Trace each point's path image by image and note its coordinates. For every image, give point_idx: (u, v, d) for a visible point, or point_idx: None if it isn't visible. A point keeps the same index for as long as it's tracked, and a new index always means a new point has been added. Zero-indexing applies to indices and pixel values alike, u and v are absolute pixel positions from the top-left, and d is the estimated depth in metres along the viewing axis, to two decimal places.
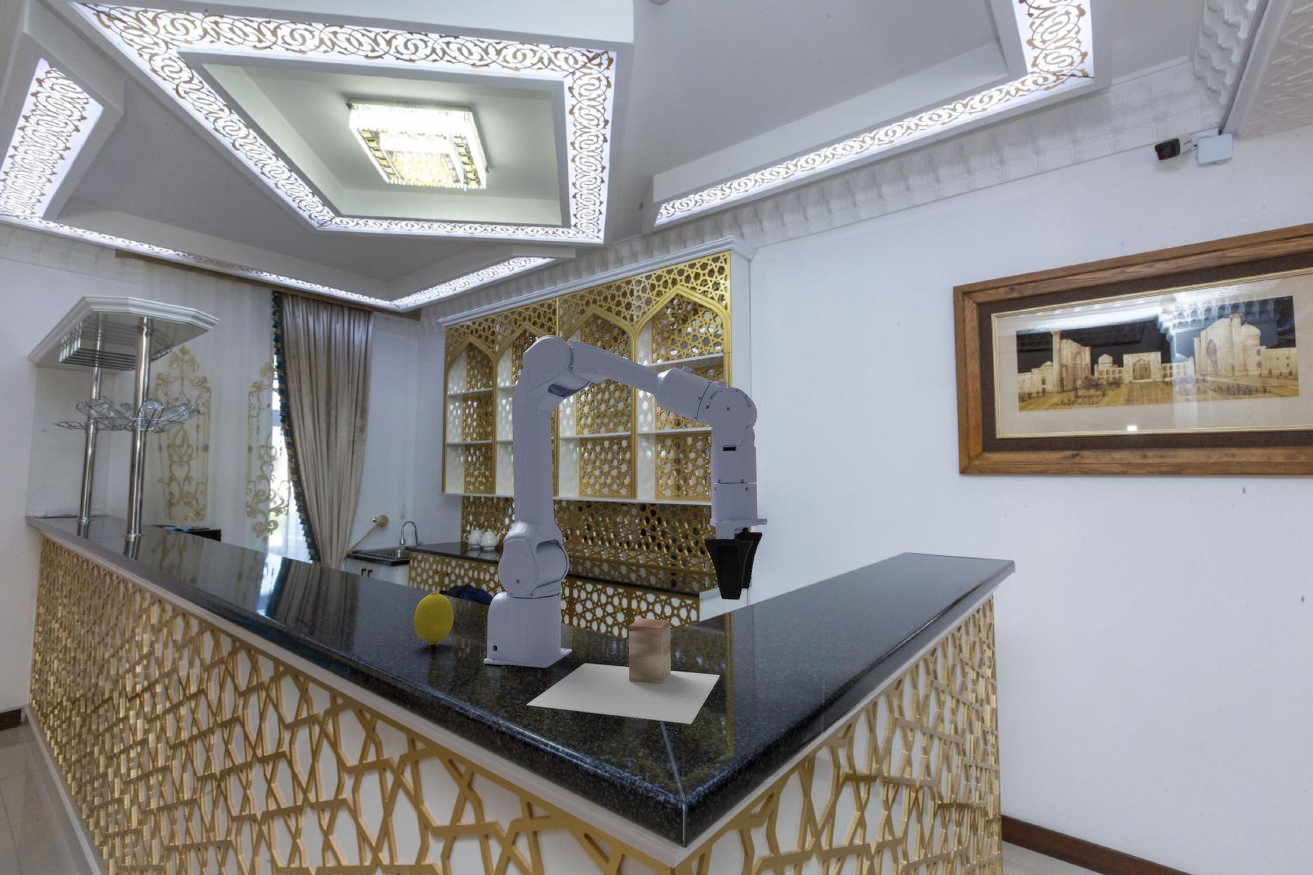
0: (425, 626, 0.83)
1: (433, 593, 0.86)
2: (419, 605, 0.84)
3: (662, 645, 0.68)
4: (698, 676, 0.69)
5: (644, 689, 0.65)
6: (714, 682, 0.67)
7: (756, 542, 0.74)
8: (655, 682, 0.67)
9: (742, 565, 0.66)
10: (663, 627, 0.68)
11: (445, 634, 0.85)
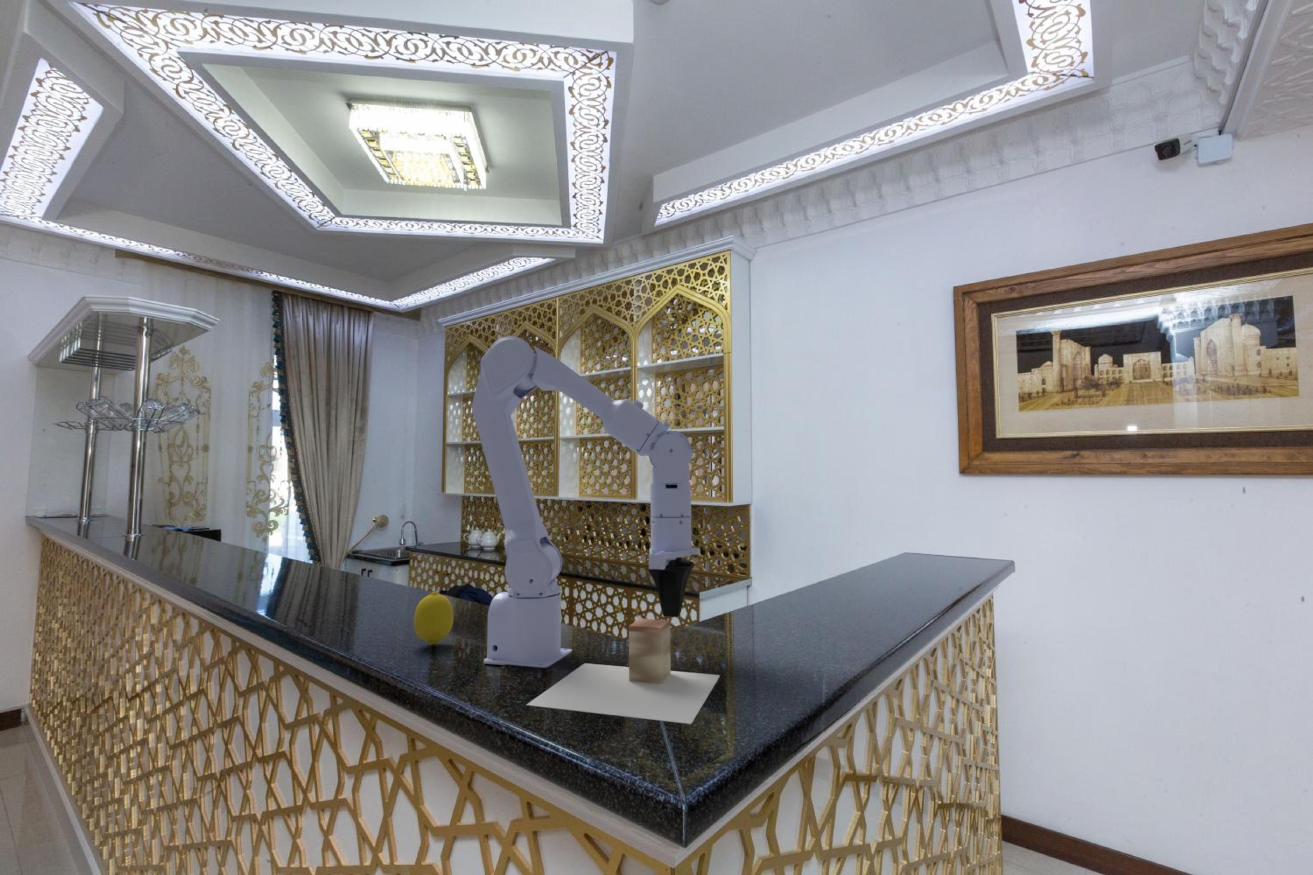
0: (425, 626, 0.83)
1: (433, 593, 0.86)
2: (419, 605, 0.84)
3: (662, 645, 0.68)
4: (698, 676, 0.69)
5: (644, 689, 0.65)
6: (714, 682, 0.67)
7: (687, 572, 0.79)
8: (655, 682, 0.67)
9: (680, 587, 0.78)
10: (663, 627, 0.68)
11: (445, 634, 0.85)
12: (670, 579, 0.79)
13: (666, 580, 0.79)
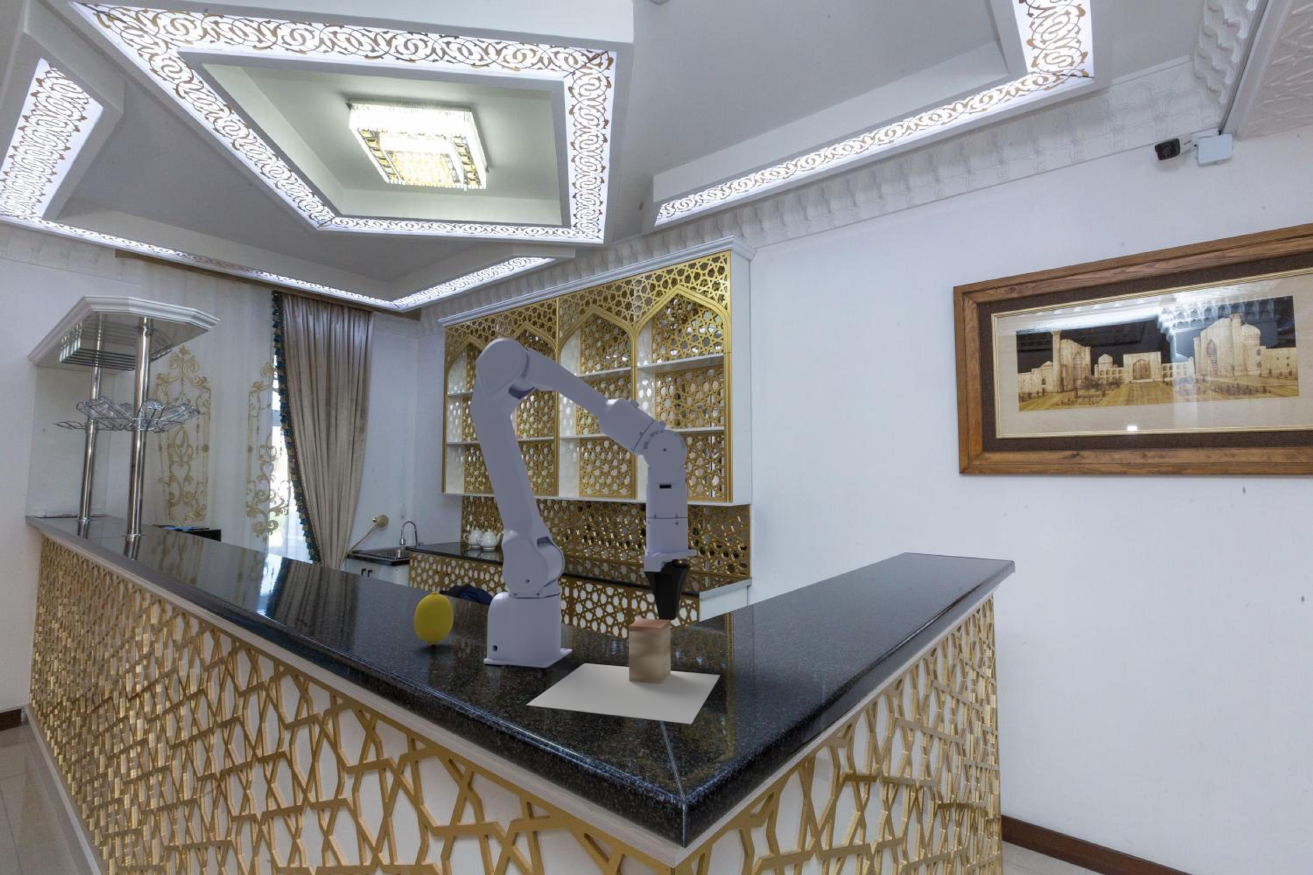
0: (425, 626, 0.83)
1: (433, 593, 0.86)
2: (419, 605, 0.84)
3: (662, 645, 0.68)
4: (698, 676, 0.69)
5: (644, 689, 0.65)
6: (714, 682, 0.67)
7: (683, 574, 0.77)
8: (655, 682, 0.67)
9: (676, 590, 0.76)
10: (663, 627, 0.68)
11: (445, 634, 0.85)
12: (666, 581, 0.77)
13: (662, 582, 0.77)
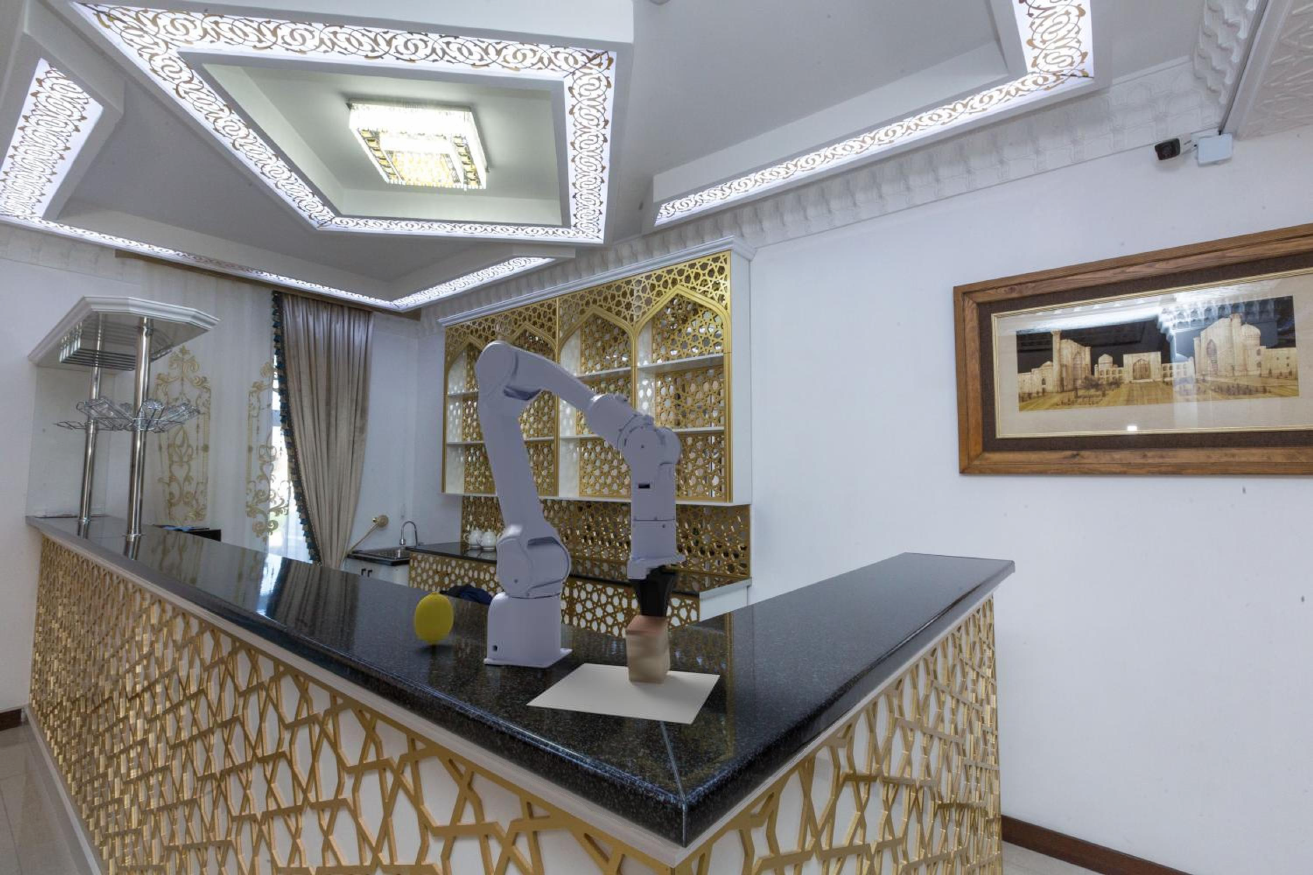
0: (425, 626, 0.83)
1: (433, 593, 0.86)
2: (419, 605, 0.84)
3: (660, 646, 0.67)
4: (698, 676, 0.69)
5: (644, 689, 0.65)
6: (714, 682, 0.67)
7: (671, 581, 0.71)
8: (655, 682, 0.67)
9: (663, 598, 0.70)
10: (660, 629, 0.67)
11: (445, 634, 0.85)
12: (652, 589, 0.71)
13: (648, 590, 0.71)
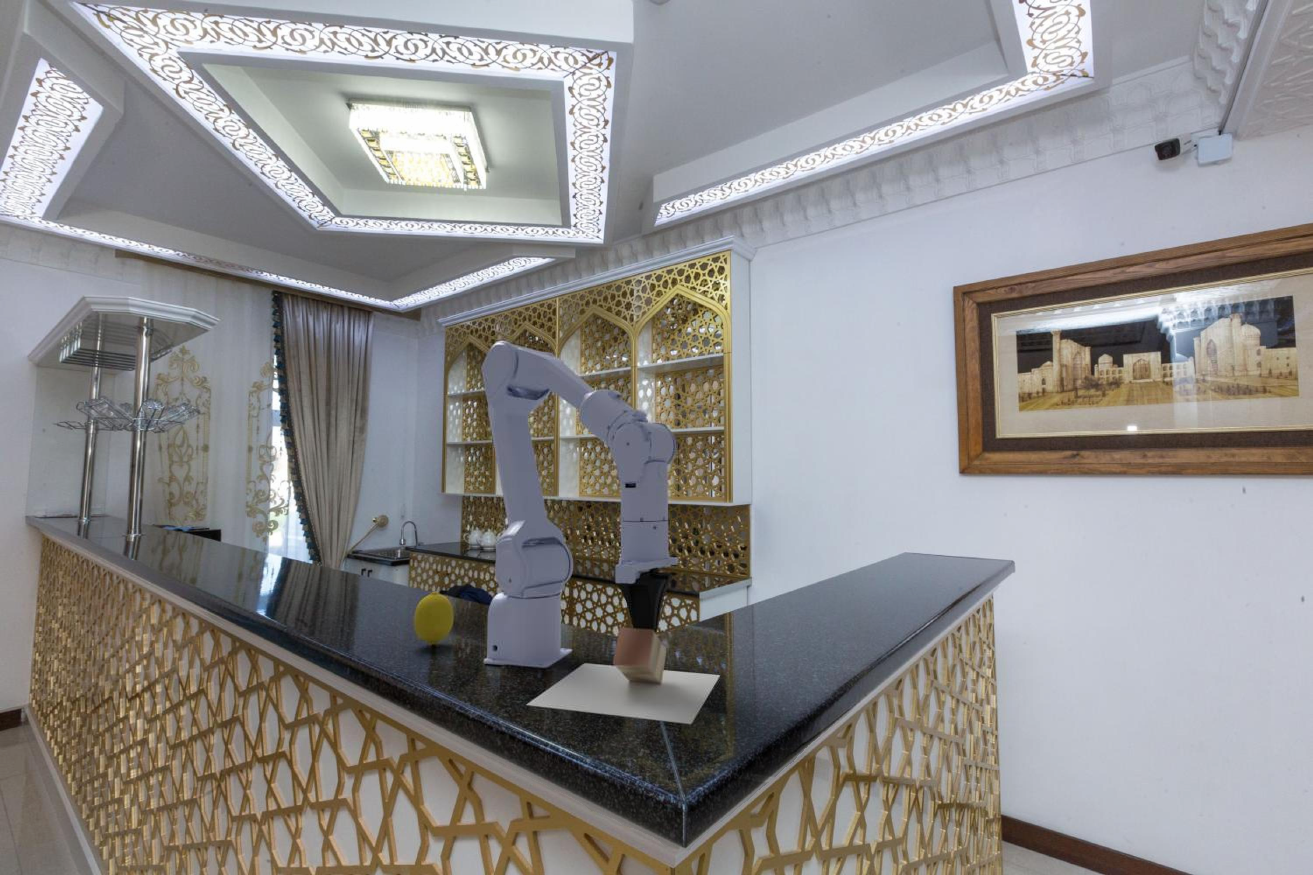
0: (425, 626, 0.83)
1: (433, 593, 0.86)
2: (419, 605, 0.84)
3: (653, 665, 0.64)
4: (698, 676, 0.69)
5: (644, 689, 0.65)
6: (714, 682, 0.67)
7: (663, 585, 0.68)
8: (655, 683, 0.67)
9: (654, 604, 0.66)
10: (649, 656, 0.63)
11: (445, 634, 0.85)
12: (643, 594, 0.67)
13: (638, 595, 0.67)
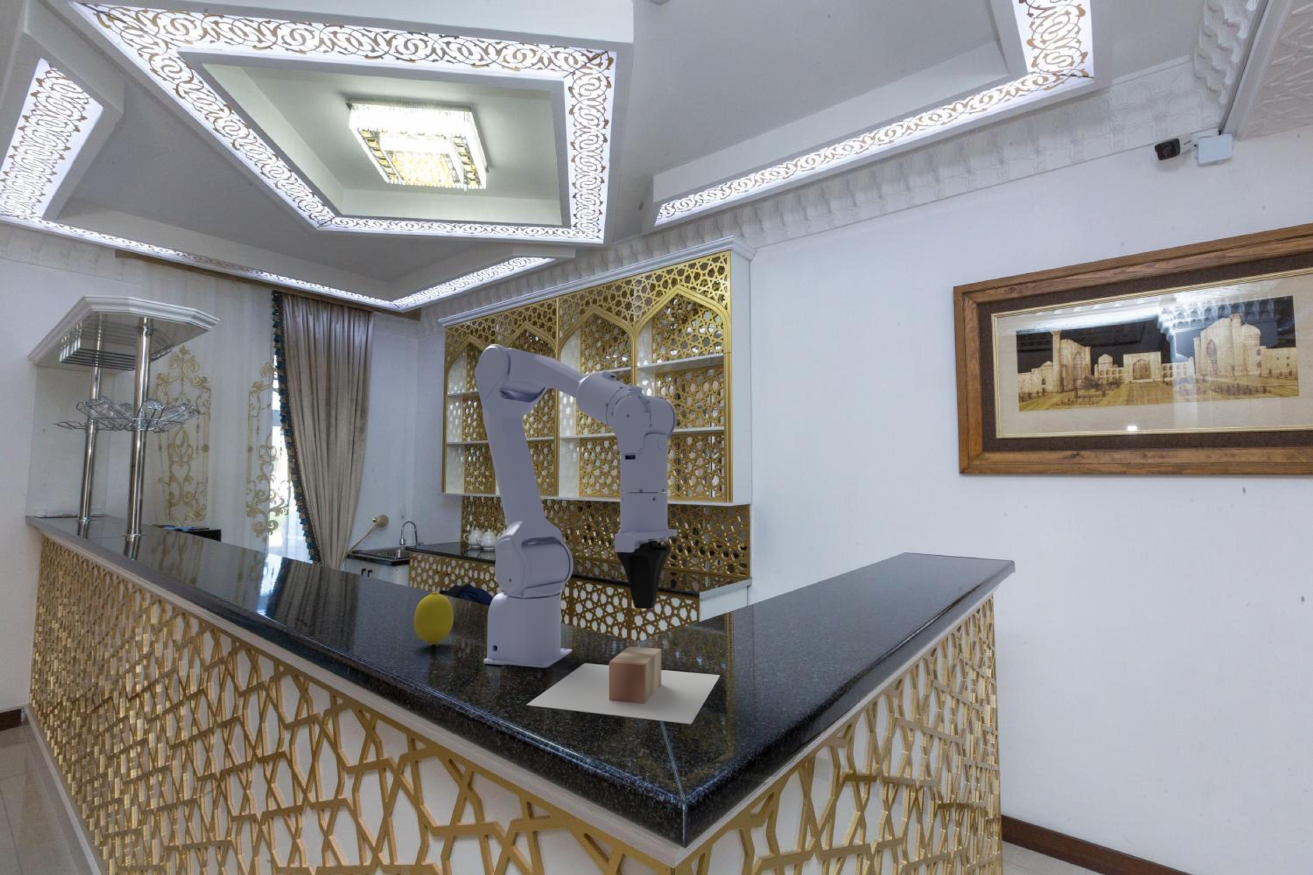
0: (425, 626, 0.83)
1: (433, 593, 0.86)
2: (419, 605, 0.84)
3: (650, 689, 0.63)
4: (698, 676, 0.69)
5: None
6: (714, 682, 0.67)
7: (662, 557, 0.68)
8: None
9: (653, 574, 0.66)
10: (644, 692, 0.61)
11: (445, 634, 0.85)
12: (642, 565, 0.68)
13: (638, 566, 0.68)
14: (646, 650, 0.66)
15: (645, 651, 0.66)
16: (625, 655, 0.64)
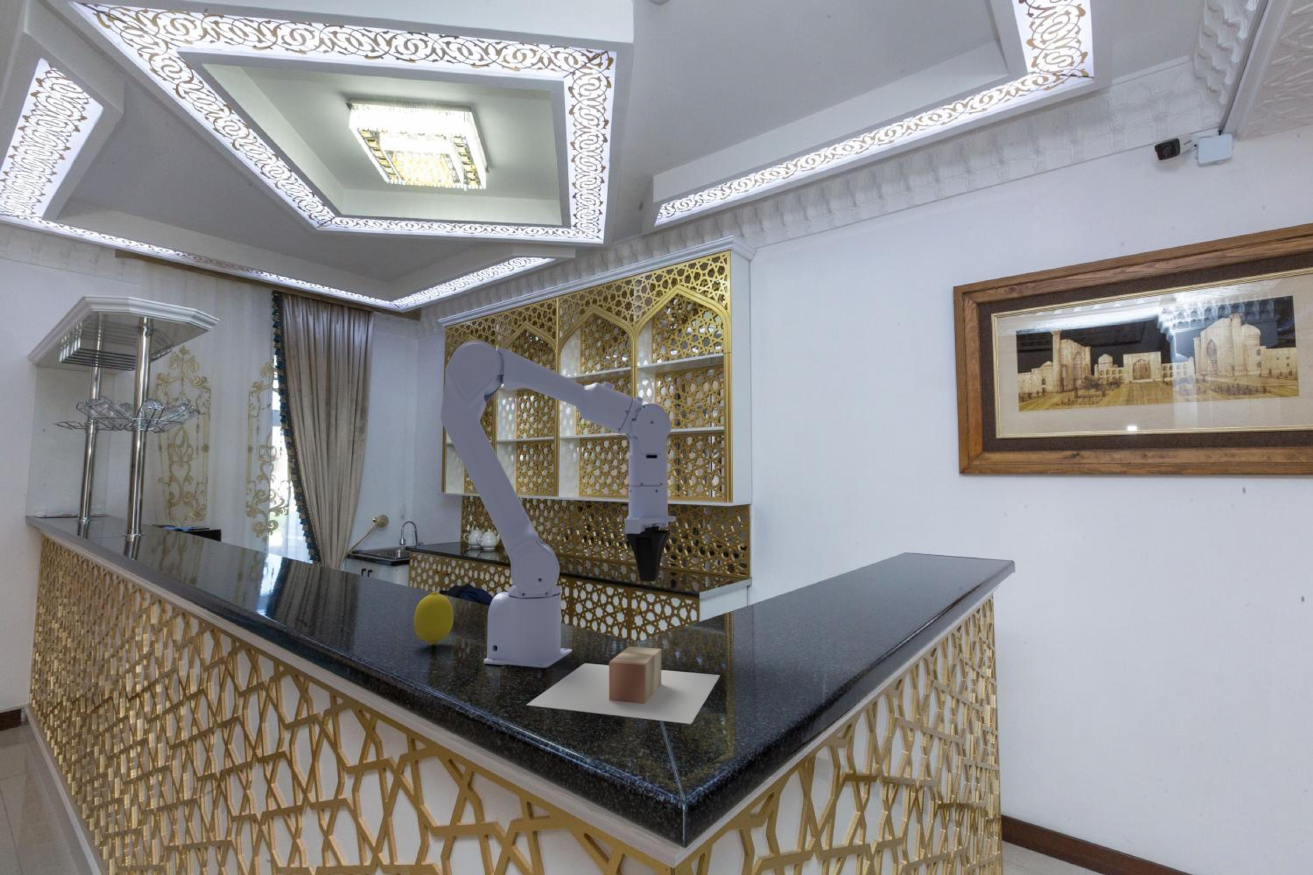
0: (425, 626, 0.83)
1: (433, 593, 0.86)
2: (419, 605, 0.84)
3: (650, 689, 0.63)
4: (698, 676, 0.69)
5: None
6: (714, 682, 0.67)
7: None
8: None
9: (656, 553, 0.81)
10: (644, 692, 0.61)
11: (445, 634, 0.85)
12: (647, 545, 0.82)
13: (643, 546, 0.82)
14: (646, 650, 0.66)
15: (645, 651, 0.66)
16: (625, 655, 0.64)
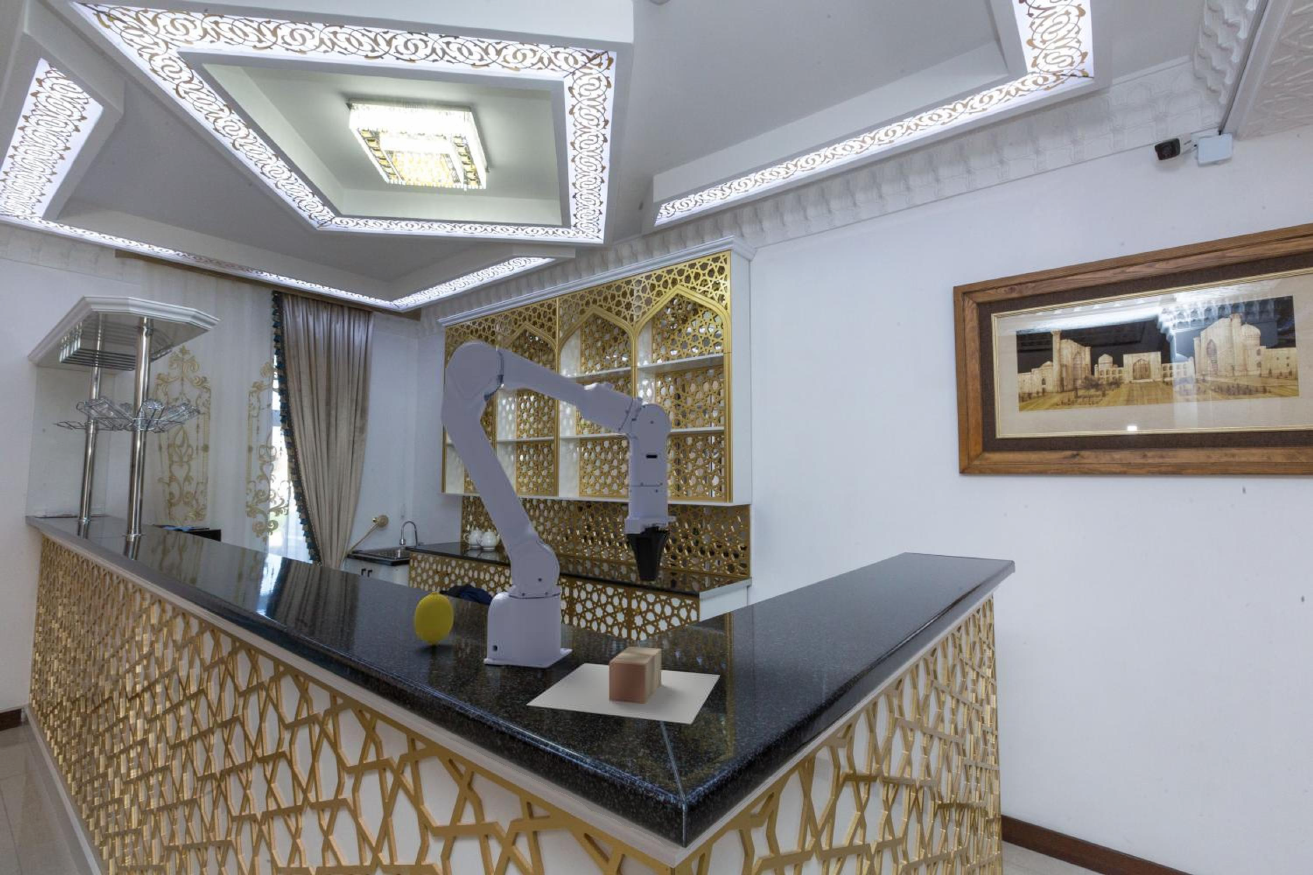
0: (425, 626, 0.83)
1: (433, 593, 0.86)
2: (419, 605, 0.84)
3: (650, 689, 0.63)
4: (698, 676, 0.69)
5: None
6: (714, 682, 0.67)
7: None
8: None
9: (656, 553, 0.81)
10: (644, 692, 0.61)
11: (445, 634, 0.85)
12: (647, 545, 0.82)
13: (643, 546, 0.82)
14: (646, 650, 0.66)
15: (645, 651, 0.66)
16: (625, 655, 0.64)
